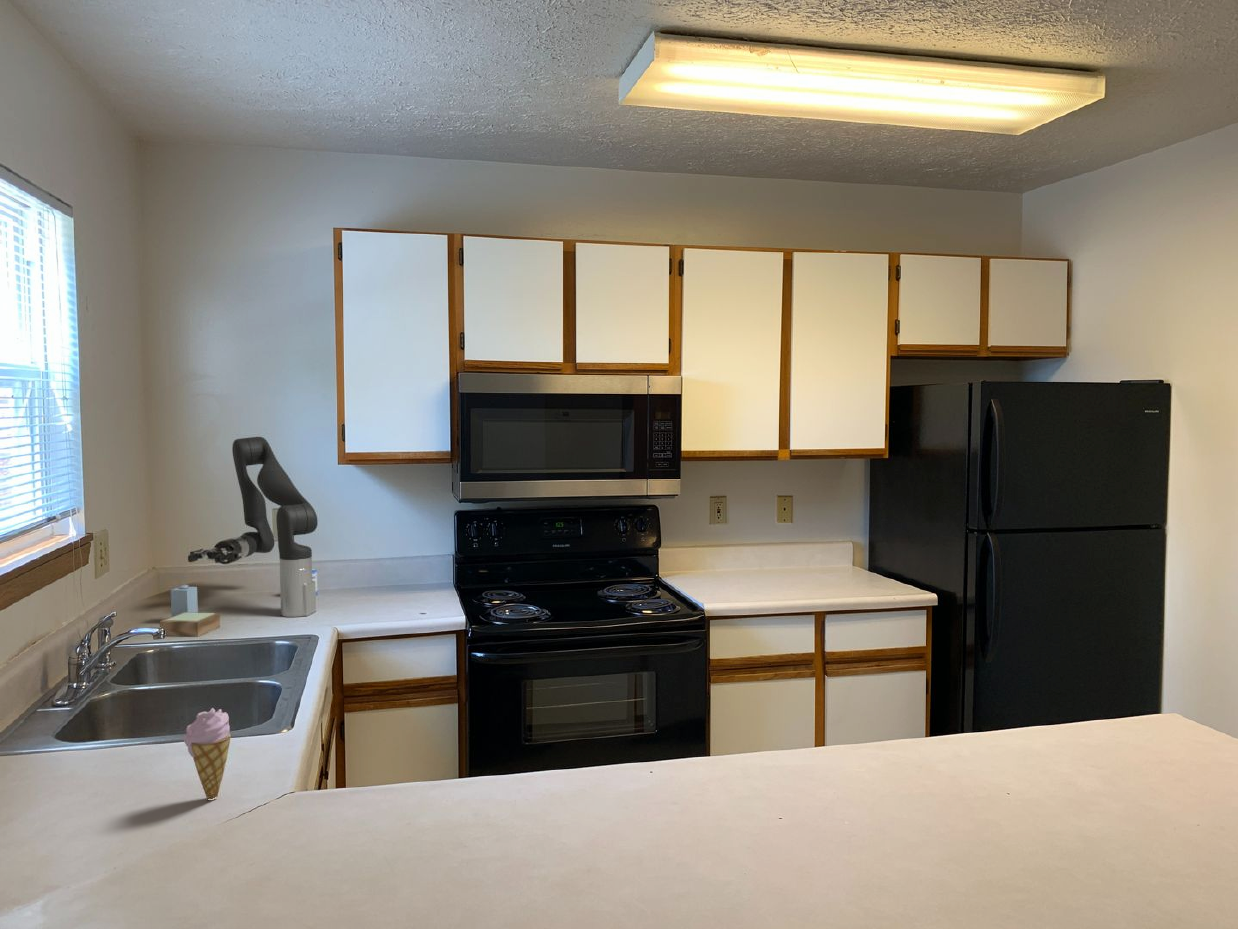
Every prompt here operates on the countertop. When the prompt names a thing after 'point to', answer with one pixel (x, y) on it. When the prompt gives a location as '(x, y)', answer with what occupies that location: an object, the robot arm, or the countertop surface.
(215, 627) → the walnut base block
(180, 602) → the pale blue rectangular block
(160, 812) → the countertop surface
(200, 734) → the ice cream cone
